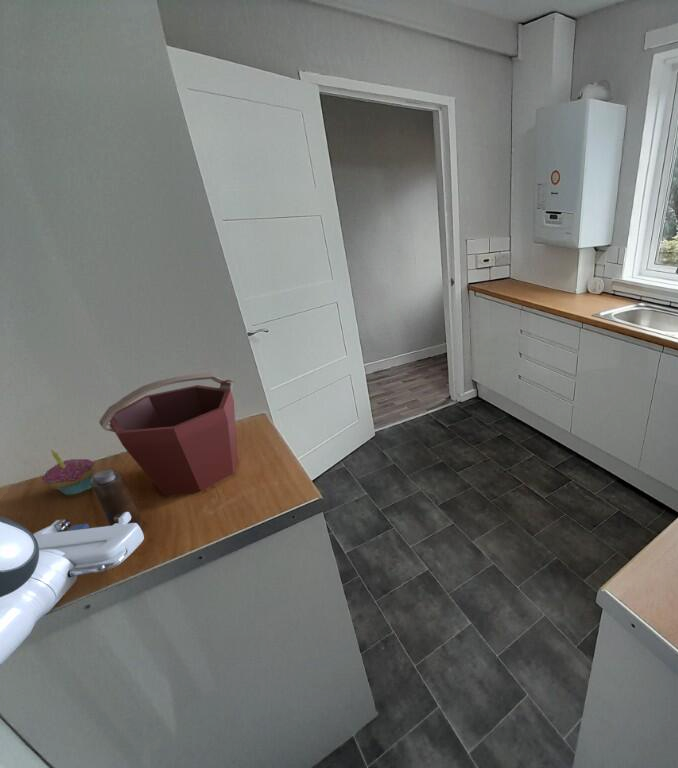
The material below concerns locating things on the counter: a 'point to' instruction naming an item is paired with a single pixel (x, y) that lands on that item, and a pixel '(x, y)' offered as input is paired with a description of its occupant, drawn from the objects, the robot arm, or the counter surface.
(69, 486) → the cupcake
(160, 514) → the counter surface
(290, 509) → the counter surface
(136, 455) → the bucket
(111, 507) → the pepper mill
